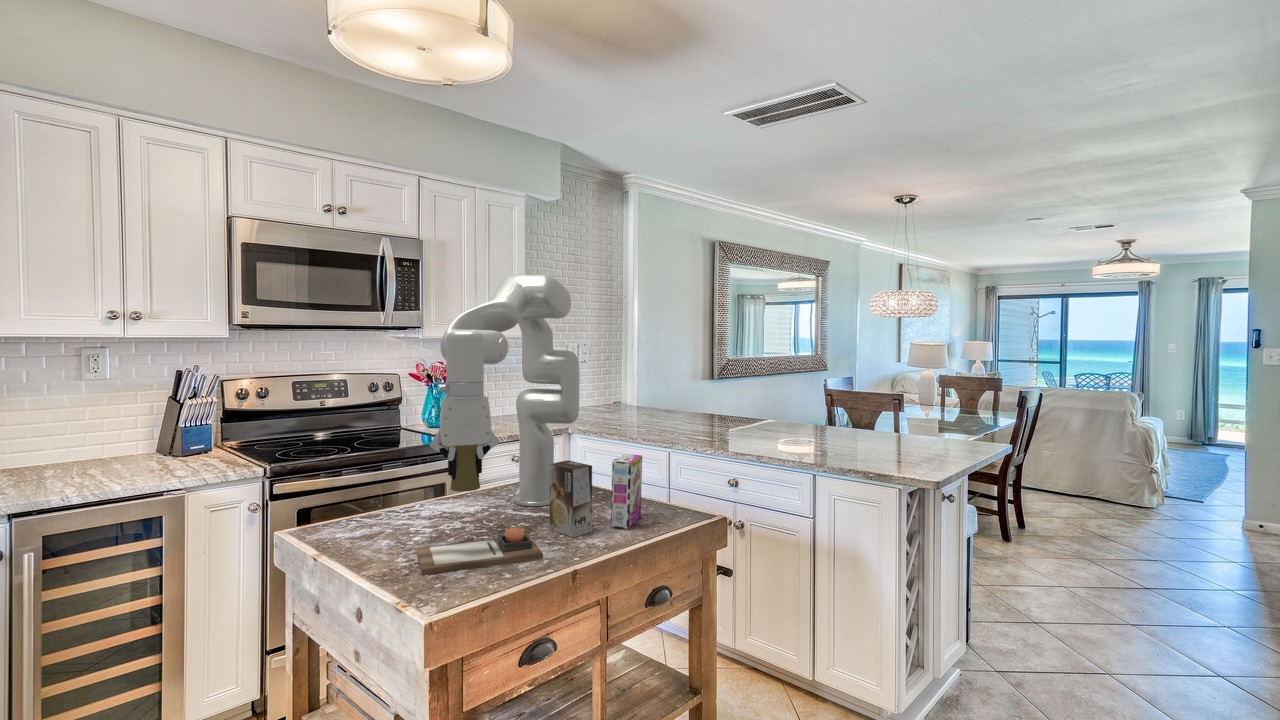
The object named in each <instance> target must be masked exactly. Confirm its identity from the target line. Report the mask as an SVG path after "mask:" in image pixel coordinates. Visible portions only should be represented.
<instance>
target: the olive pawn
mask: <svg viewBox="0 0 1280 720" xmlns="http://www.w3.org/2000/svg"><path fill="white" fill-rule="evenodd" d="M455 448H456V450H455V455H454V457H455V461H456V475H455V480H452V479H451V483H450V489H449V490H450V491H452V492H458V493H459V492H463V493H464V492H465V493H466V492H474V491H477V490H480V488H481V484H480V477H479V478H478V477H477V469H476V461H475V460H476V452H475V451H476V449H477V445H476V446H472V445H465V446H459V447H455Z"/></svg>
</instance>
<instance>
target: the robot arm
mask: <svg viewBox="0 0 1280 720" xmlns="http://www.w3.org/2000/svg"><path fill="white" fill-rule="evenodd" d="M571 308H572V299H571V293H570V292H569V290H568V289H567V288H566V287H565V286H564V285H563V284H562V283H561V282H560V281H559V280H557V278H555V277H553V276H550V275H548V274H542V273H541V274H539V273H538V274H525V273H524V274H522V273H520V274H512V275H508V276H507V277H506V278H504V279H503V280H502V282H501V283H500V284H499V286H498V287H497V289H496V290H495V292H494V293H493V294H492V296H491V297H490V299H489V300H488V301H487V302H484V303H482V304H480V305H478V306H476V307H473V308H471V309H469V310H466V311H465V312H463V313H461V314H459V315H458V316H457V317H455V318H454V319H453V321H451V323H450V324H449V325H448V327H447V328H446V330H445V331H444V334H443V335H442V337H441V340H440V345H439V346H440V353H441V355H442V357H443V358H444V360H445V361H446V362H445V364H446V365H445V371H446V373H445V374H446V375H445V377H446V378H445V379H446V380H445V383H444V384H442V385H441V384H439V385H438V392H442V393H445V396H443V397H442V401H441V407H440V415H439V424H438V425H439V428H438V431H437V433H436V435H435V436H434V437H433V439H432V441H431V442H430V443H429V447H430V448H431V449H433V450H434V451H436V452H437V453H440V454H441V455H442V456H443V457H444V458H445V459H446V460H447V476H449V477H450V478H451V480H455V475H456V461H455V450H456V448H455V447H459V446H465V445H472V446H476V445H477V449H476V451H475V452H476V460H475V461H476V469H477V477H478V478H479V479H480V474H483V473H482V472H483V458H484V457H485V456H486V455H487V454H488V453H489V451H490V450H492V449H493V448H495V447H496V446H497V445H499V443H500V440H499V439H498V438H497V436H496V435H495V433H494V432H493V431H492V422H491V421H492V419H491V408H490V402H489V397H488V396H486V395H484V393H485V391H484V389H485V387H484V386H485V385H484V382H485V381H484V379H485V375H484V374H485V372H484V371H485V369H484V368H485V365H497V364H501V363H502V362H503V361H504V360H505V359H506V357H507V356H508V353H509V342H508V340H507V337H506V336H505V335H504V334H503V332H506V331H510V330H511V329H513V328H515V327H516V326H517V325H518V327H519V328H520V329H519V330H520V332H521V370H522V372H521V374H522V377H523V380H524V381H525V382H527V383H530V384H539V385H559V386H560V389H557V388H556V389H554V388H528V389H527V388H526V389H523V391H521V392H520V393H519V394H518V396H516V401H515V409H516V415H517V419H518V420H517V421H518V430H519V431H518V432H519V433H518V435H519V446H518V447H519V450H518V451H519V452H518V453H519V455H518V457H519V459H518V460H519V461H518V463H519V467H518V469H519V470H518V471H519V472H518V474H519V476H518V477H519V479H518V484H519V485H518V486H519V488H518V489H519V491H518V492H519V493H517V494H515V495H514V497H513V502H514V503H515V504H516V505H520V506H526V507H544V506H550V464H553V463H555V461H554V460H555V459H554V458H555V455H554V453H555V451H554V450H555V449H554V448H555V441H554V435H553V433H552V431H551V429H550V428H549V427H548V425H547V424H563V425H565V424H567V425H568V424H569V425H570V424H572V423H575V422H576V421H577V419H578V418H579V413H580V412H579V411H580V382H581V381H580V376H581V375H580V374H581V373H580V372H581V371H580V362H579V359H578V356H577V354H575V352H573V351H571V350H562V349H554V344H553V343H554V338H553V337H554V336H553V334H554V333H553V330H552V328H551V326H550V324H549V323H548V321H547V320H546V319H563V318H565V317H567V316H568V315H569V313H570V311H571ZM440 443H441V445H440ZM442 445H443V446H442ZM446 447H447V448H446Z"/></svg>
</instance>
